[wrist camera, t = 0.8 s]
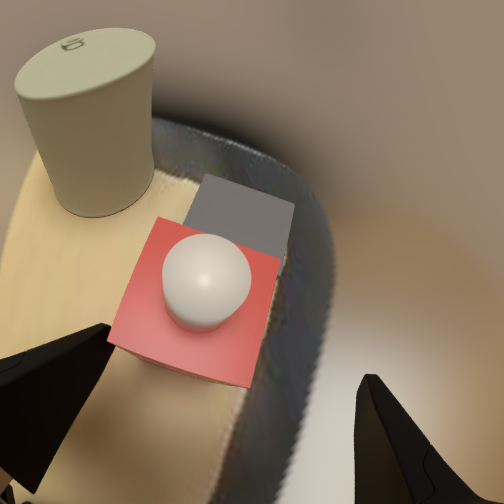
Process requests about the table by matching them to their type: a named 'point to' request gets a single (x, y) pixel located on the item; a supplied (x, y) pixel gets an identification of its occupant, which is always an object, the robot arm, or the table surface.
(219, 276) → the ketchup bottle
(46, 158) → the can
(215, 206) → the grey box
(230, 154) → the table surface
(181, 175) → the table surface
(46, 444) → the robot arm
